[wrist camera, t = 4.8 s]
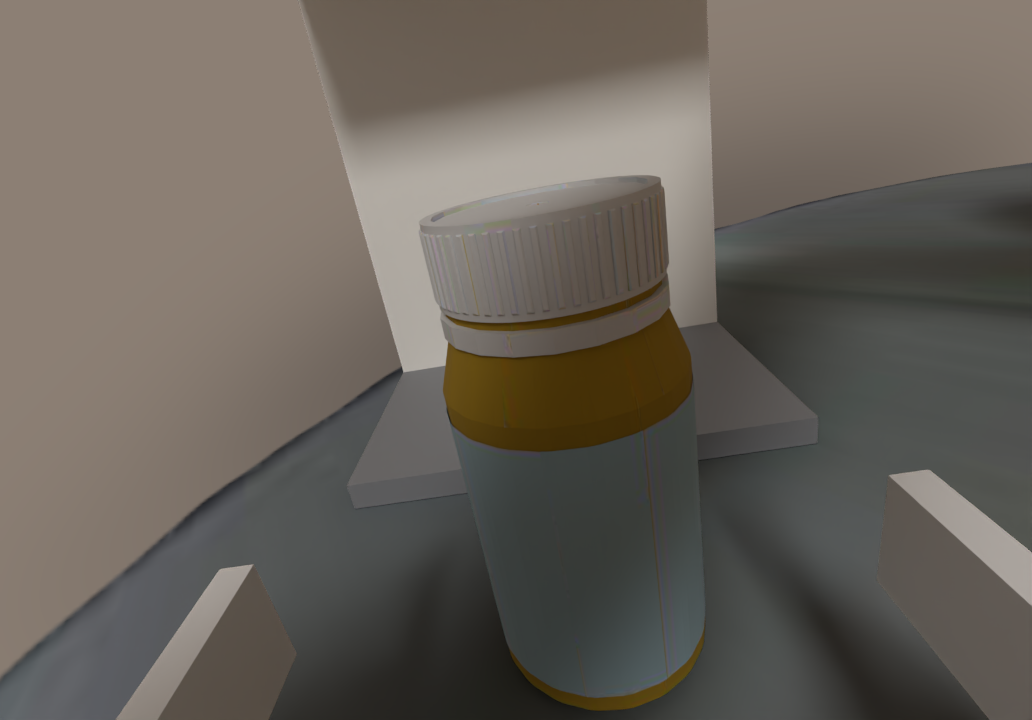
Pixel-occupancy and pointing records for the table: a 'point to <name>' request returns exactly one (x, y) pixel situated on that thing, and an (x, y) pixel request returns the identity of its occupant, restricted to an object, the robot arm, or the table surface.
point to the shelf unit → (527, 183)
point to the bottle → (576, 432)
